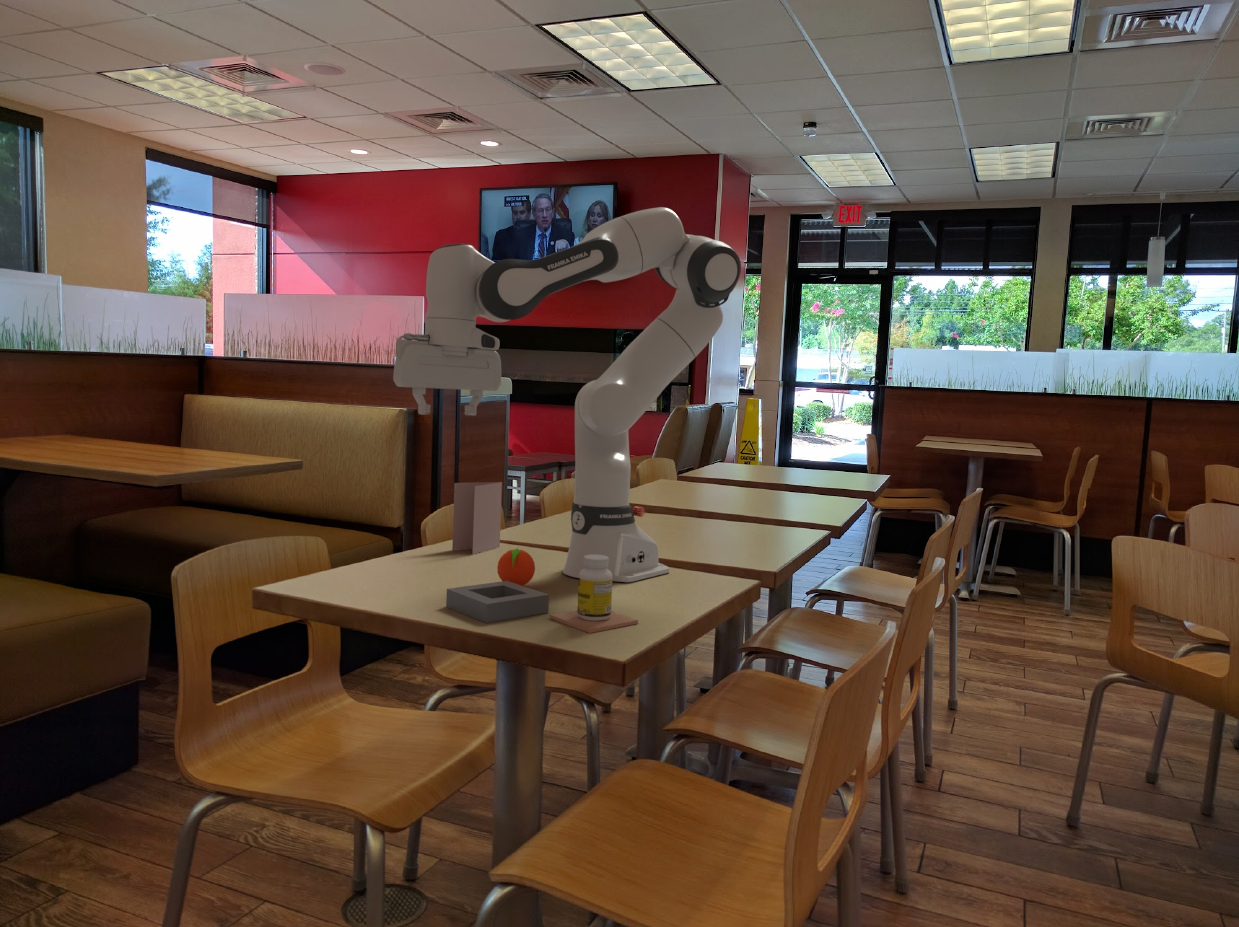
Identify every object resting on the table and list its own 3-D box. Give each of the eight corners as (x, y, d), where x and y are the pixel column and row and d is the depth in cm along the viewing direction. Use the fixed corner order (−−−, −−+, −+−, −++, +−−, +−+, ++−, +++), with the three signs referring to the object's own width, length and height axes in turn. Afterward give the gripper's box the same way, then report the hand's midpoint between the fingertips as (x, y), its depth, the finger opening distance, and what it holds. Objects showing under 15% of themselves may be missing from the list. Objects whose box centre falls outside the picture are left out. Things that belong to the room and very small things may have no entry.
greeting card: (498, 546, 200) (500, 481, 199) (511, 552, 194) (514, 485, 193) (450, 549, 194) (452, 482, 193) (463, 555, 188) (465, 486, 187)
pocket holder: (506, 597, 152) (507, 580, 152) (548, 612, 143) (549, 594, 143) (446, 606, 144) (446, 588, 144) (486, 623, 135) (487, 604, 135)
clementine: (531, 593, 156) (532, 554, 156) (492, 591, 156) (494, 552, 156) (536, 583, 164) (537, 546, 164) (499, 581, 164) (500, 544, 164)
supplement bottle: (572, 614, 141) (574, 554, 140) (603, 612, 143) (605, 552, 142) (584, 622, 136) (586, 560, 135) (616, 620, 138) (618, 559, 137)
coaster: (597, 610, 146) (597, 606, 146) (637, 623, 139) (638, 620, 139) (549, 618, 140) (549, 614, 140) (589, 633, 132) (589, 629, 132)
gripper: (405, 331, 145) (403, 414, 146) (507, 340, 159) (504, 416, 160) (387, 332, 150) (385, 412, 151) (488, 341, 164) (485, 415, 165)
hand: (447, 415), depth 156 cm, fingers open, 8 cm apart
